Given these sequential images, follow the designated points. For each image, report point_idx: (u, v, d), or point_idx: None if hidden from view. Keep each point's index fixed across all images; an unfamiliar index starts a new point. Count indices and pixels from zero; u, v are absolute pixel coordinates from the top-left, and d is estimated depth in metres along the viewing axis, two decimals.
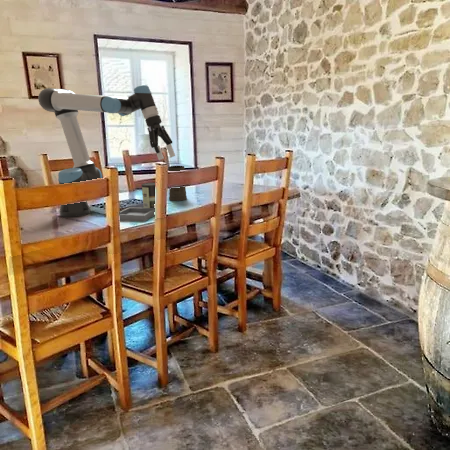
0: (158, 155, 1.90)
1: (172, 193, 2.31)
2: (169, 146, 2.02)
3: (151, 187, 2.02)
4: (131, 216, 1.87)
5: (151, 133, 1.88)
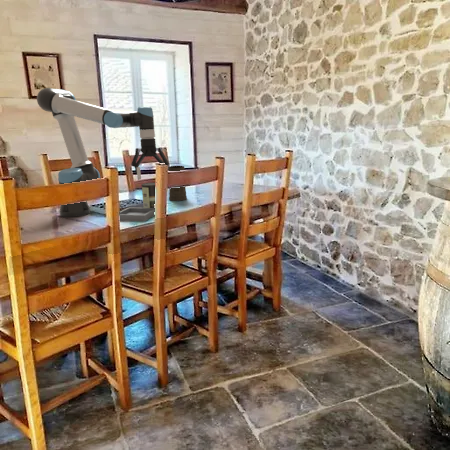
0: None
1: (172, 193, 2.31)
2: (139, 169, 2.06)
3: (151, 187, 2.02)
4: (131, 216, 1.87)
5: (163, 154, 2.01)
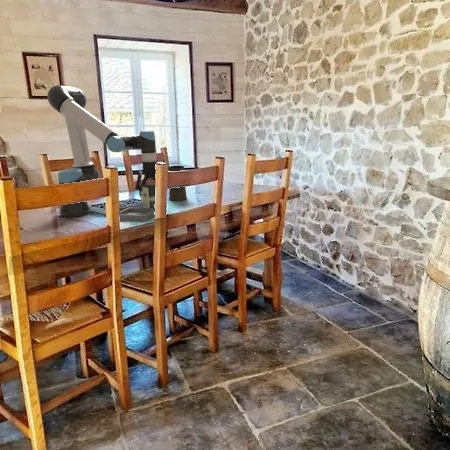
0: None
1: (172, 193, 2.31)
2: None
3: (151, 187, 2.02)
4: (131, 216, 1.87)
5: None
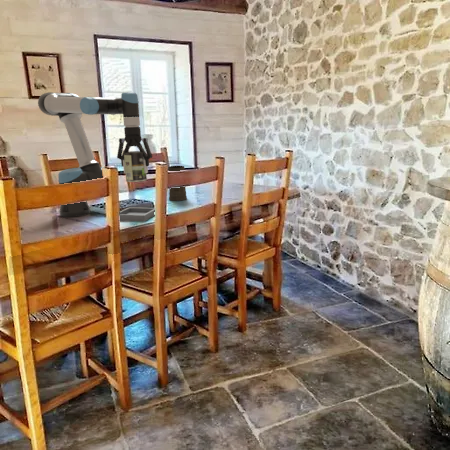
0: (146, 168, 1.91)
1: (172, 193, 2.31)
2: None
3: (134, 154, 1.86)
4: (131, 216, 1.87)
5: (147, 145, 1.88)
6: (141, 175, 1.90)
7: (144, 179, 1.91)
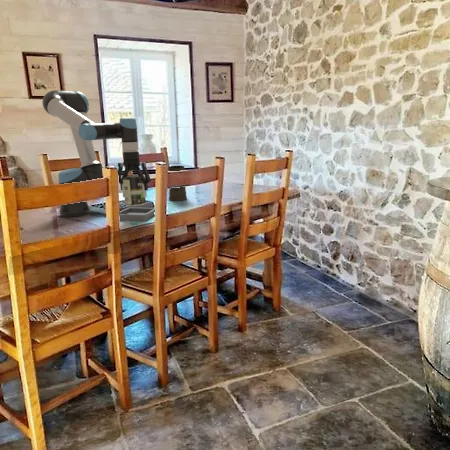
0: (144, 192, 1.91)
1: (172, 193, 2.31)
2: None
3: (133, 179, 1.86)
4: (131, 216, 1.87)
5: (146, 169, 1.88)
6: (140, 199, 1.90)
7: (143, 203, 1.91)
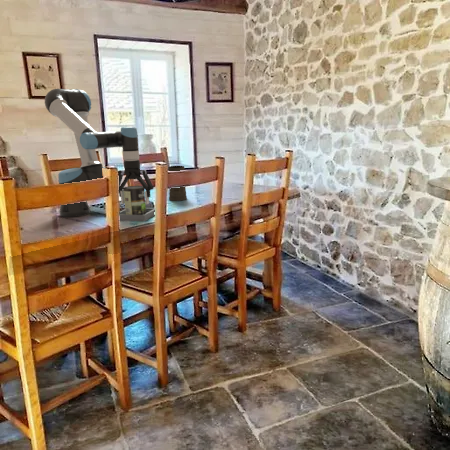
0: (147, 199, 1.91)
1: (172, 193, 2.31)
2: (123, 192, 1.94)
3: (133, 190, 1.87)
4: (131, 216, 1.87)
5: (147, 177, 1.89)
6: (141, 210, 1.91)
7: (143, 214, 1.93)
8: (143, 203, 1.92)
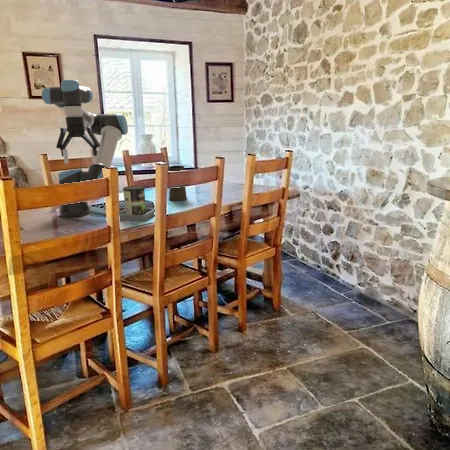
0: (94, 158, 1.81)
1: (172, 193, 2.31)
2: (66, 151, 1.83)
3: (133, 190, 1.87)
4: (131, 216, 1.87)
5: (92, 134, 1.79)
6: (141, 210, 1.91)
7: (143, 214, 1.93)
8: (143, 203, 1.92)
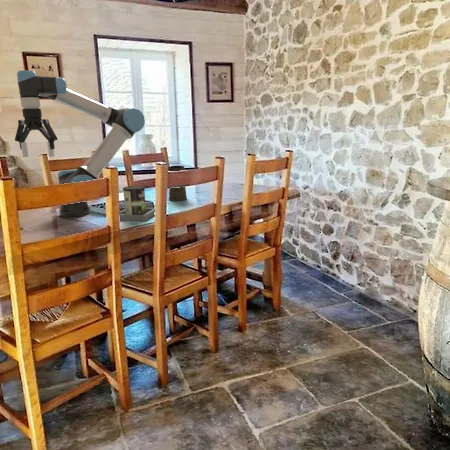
0: (50, 151, 1.75)
1: (172, 193, 2.31)
2: (25, 144, 1.78)
3: (133, 190, 1.87)
4: (131, 216, 1.87)
5: (49, 126, 1.73)
6: (141, 210, 1.91)
7: (143, 214, 1.93)
8: (143, 203, 1.92)
